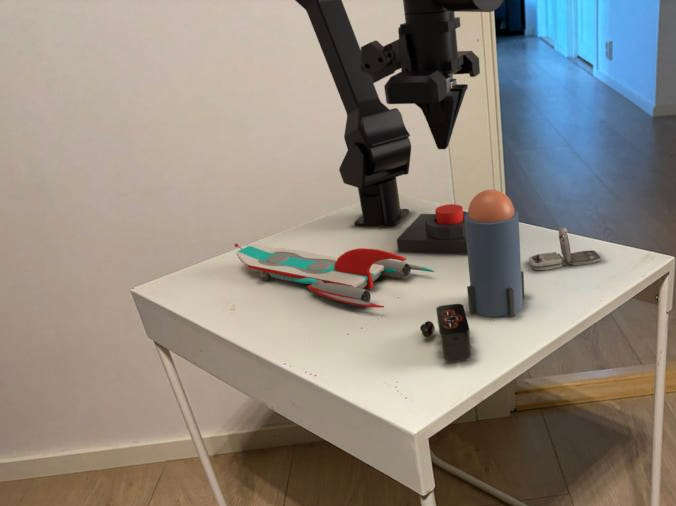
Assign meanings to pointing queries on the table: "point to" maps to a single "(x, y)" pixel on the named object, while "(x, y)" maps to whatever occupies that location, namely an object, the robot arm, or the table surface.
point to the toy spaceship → (328, 270)
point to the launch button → (449, 214)
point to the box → (433, 236)
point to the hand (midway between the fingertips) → (442, 148)
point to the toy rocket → (493, 256)
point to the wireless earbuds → (451, 332)
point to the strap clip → (556, 260)
